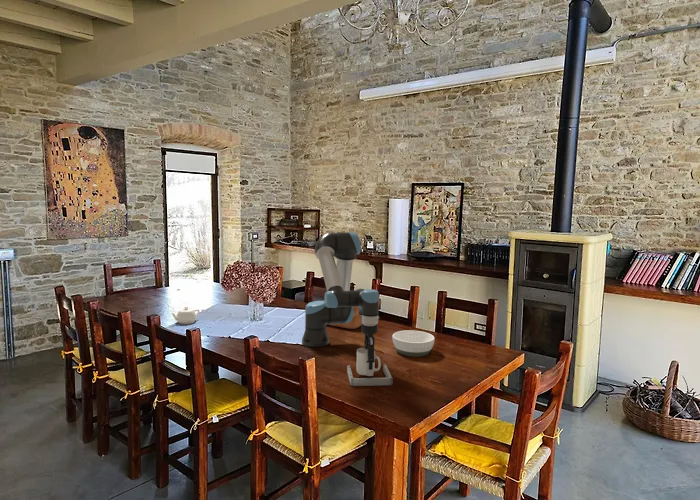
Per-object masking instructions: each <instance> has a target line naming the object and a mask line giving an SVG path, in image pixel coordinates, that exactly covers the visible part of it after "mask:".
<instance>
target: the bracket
mask: <svg viewBox="0 0 700 500" xmlns="http://www.w3.org/2000/svg"><path fill="white" fill-rule="evenodd" d="M382 365H383V366H382V371H383V374H384V375H385V377H360V378H359V377H354V375H353V372H352V369H351V364H348V365H347V367H346V372H347V376H348V381H349V383H350V387H365V386H366V387H368V386H370V387H371V386H393V383H394V382H393V380H394V379H393V377H392V375H391V372H390V370H389V368H388V367H387V364H382Z"/></svg>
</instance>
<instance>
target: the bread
mask: <svg viewBox="0 0 700 500" xmlns="http://www.w3.org/2000/svg"><path fill="white" fill-rule="evenodd" d="M353 311H354V314H353V318H352V320H351V321H350V322H349V323H344V324H327V325H329V326H332V327H339V328H343V329H348V330H354V329H355V330H356V329H357V328H360V327H361V325H362V323H361V319H362V316H361V315H360V313H359V312H360V310H359V306H357V307H354V310H353ZM327 325H326V326H327Z"/></svg>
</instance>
